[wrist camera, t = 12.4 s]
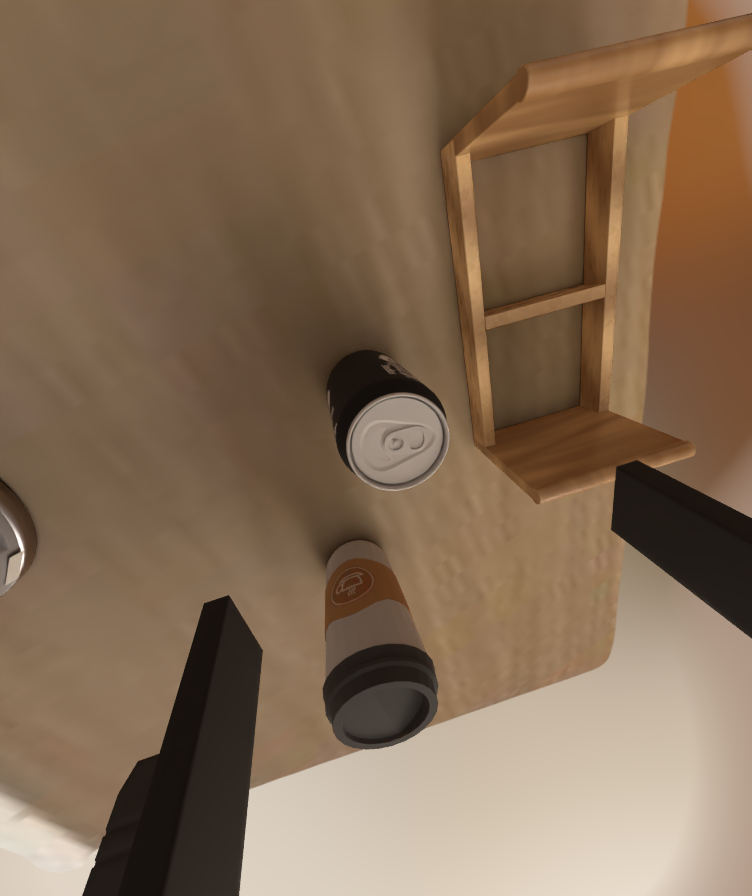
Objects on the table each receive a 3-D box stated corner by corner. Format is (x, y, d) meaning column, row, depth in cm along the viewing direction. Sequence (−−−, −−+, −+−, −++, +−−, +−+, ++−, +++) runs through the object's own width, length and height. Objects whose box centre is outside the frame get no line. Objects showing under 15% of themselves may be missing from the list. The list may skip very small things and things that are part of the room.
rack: (439, 149, 24) (528, 57, 15) (601, 110, 25) (784, 0, 15) (474, 446, 34) (540, 507, 25) (588, 412, 35) (694, 459, 26)
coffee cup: (378, 517, 35) (424, 657, 22) (405, 572, 39) (458, 721, 26) (302, 551, 35) (301, 712, 22) (336, 603, 39) (353, 768, 26)
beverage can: (318, 356, 28) (327, 398, 17) (398, 342, 29) (454, 374, 18) (334, 431, 31) (350, 508, 20) (406, 417, 32) (459, 483, 21)
